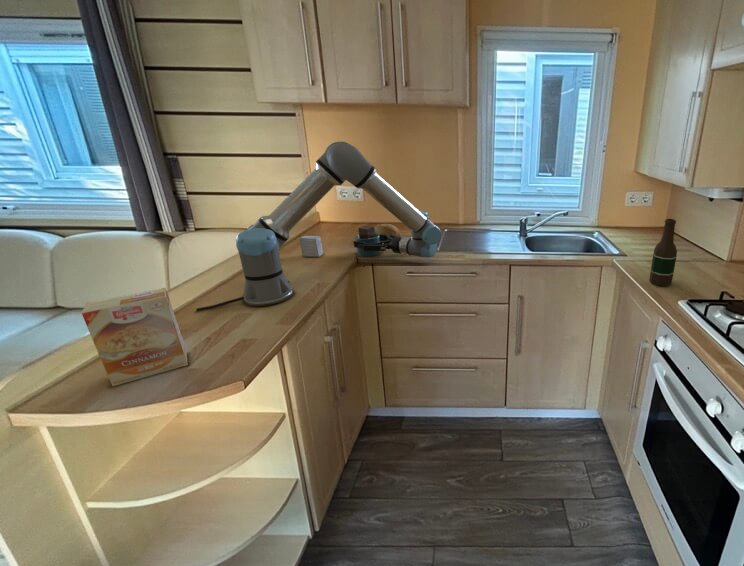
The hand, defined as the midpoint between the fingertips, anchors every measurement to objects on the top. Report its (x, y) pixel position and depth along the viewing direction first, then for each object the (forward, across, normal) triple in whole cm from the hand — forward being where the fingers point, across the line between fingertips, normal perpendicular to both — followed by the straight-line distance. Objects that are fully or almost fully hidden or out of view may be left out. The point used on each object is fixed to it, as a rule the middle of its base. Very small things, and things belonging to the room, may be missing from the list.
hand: (364, 240), depth 185 cm
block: (-2, 0, +1) cm, 2 cm away
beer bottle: (-126, +14, -6) cm, 127 cm away
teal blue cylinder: (-2, 0, -6) cm, 6 cm away
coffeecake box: (-13, -96, -6) cm, 98 cm away
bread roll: (+4, +21, -6) cm, 22 cm away
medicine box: (+19, -13, -6) cm, 24 cm away
